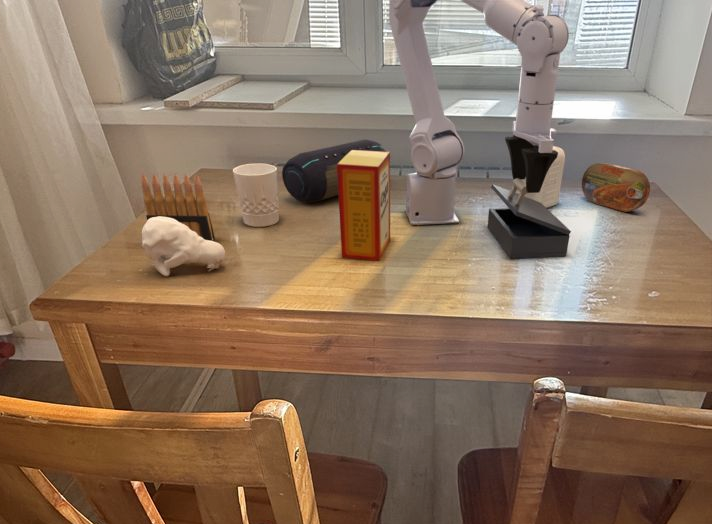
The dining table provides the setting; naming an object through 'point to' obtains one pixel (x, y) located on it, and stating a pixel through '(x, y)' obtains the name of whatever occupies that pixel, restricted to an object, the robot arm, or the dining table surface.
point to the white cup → (257, 193)
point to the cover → (528, 207)
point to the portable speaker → (319, 170)
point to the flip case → (525, 236)
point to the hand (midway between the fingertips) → (525, 185)
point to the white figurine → (177, 245)
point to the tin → (615, 186)
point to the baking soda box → (364, 204)
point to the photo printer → (550, 182)
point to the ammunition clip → (179, 204)
